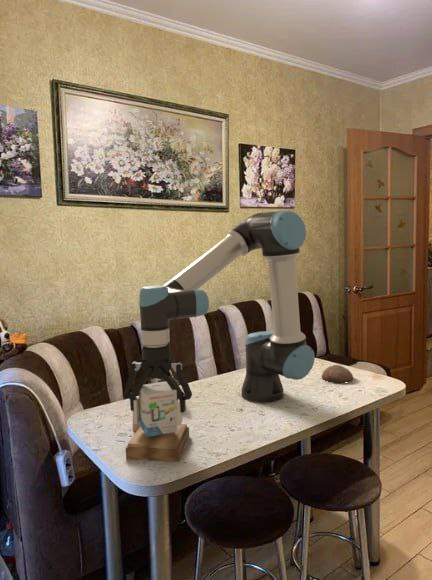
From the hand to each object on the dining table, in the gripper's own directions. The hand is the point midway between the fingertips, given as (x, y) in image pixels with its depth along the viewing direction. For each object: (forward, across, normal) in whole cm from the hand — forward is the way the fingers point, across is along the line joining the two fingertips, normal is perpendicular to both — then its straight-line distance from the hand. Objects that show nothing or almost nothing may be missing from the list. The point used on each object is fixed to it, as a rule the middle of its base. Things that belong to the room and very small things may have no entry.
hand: (158, 422), depth 119 cm
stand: (+7, 0, 0) cm, 7 cm away
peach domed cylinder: (+7, +8, -11) cm, 15 cm away
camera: (+7, +5, -30) cm, 31 cm away
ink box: (+2, 0, 0) cm, 2 cm away
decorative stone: (+8, -56, -63) cm, 84 cm away
